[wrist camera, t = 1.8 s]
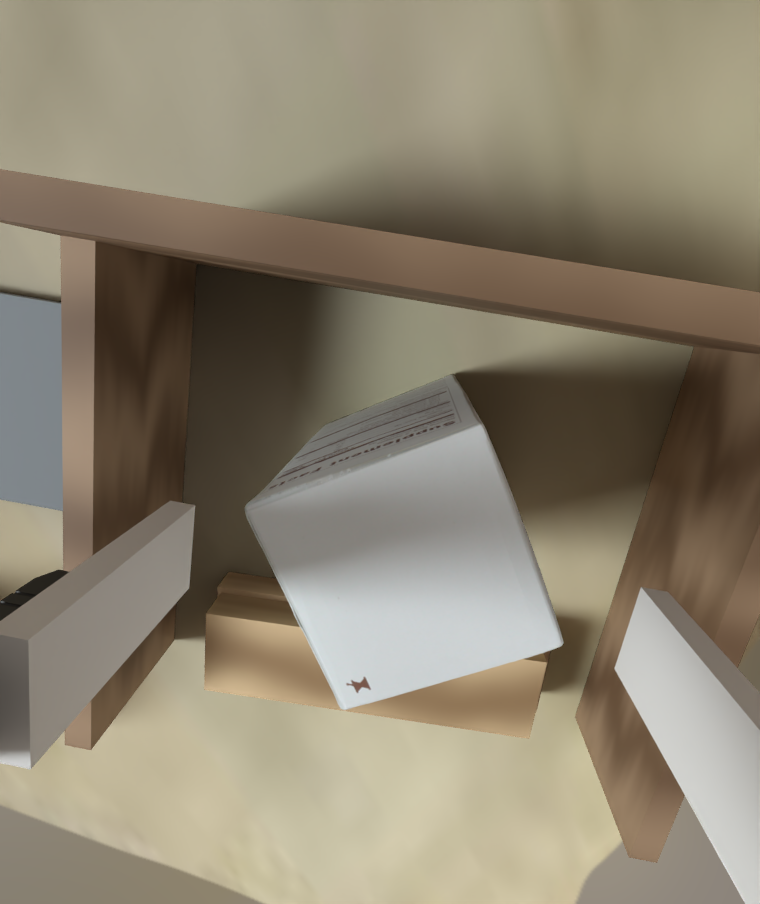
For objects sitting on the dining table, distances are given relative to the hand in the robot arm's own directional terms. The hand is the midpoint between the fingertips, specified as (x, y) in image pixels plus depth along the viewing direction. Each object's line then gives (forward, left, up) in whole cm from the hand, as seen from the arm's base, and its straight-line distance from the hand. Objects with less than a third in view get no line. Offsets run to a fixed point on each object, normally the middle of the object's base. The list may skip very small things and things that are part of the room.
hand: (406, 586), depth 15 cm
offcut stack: (+10, 0, -13) cm, 16 cm away
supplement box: (0, 0, -12) cm, 12 cm away
